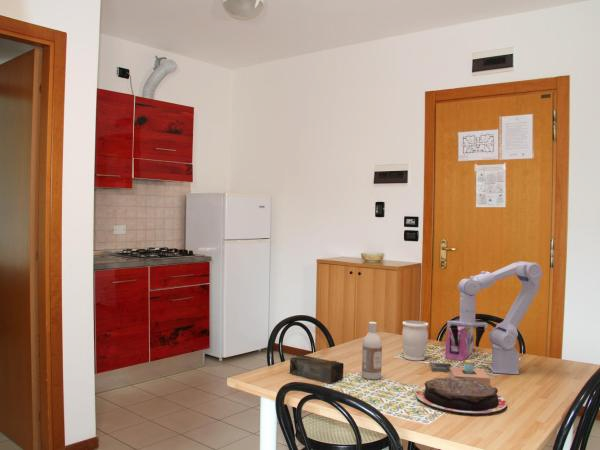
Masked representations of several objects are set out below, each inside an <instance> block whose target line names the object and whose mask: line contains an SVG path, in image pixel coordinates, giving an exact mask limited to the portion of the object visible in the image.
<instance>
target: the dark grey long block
mask: <svg viewBox="0 0 600 450" xmlns="http://www.w3.org/2000/svg"><path fill="white" fill-rule="evenodd" d="M289 374H290V375H294V376H297V377H302V378H305V379H310V380H315V381H319V382H323V383H327V384H334V383H337V382H339V380H340V381H343V380H344V362H340V361H337V360H329V359H324V358H320V357H319V358H317V357H314V356H308V355H304V354H301V355H294V356H293V357H291V358H289ZM342 379H343V380H342Z"/></svg>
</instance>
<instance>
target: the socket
mask: <svg viewBox="0 0 600 450" xmlns="http://www.w3.org/2000/svg"><path fill="white" fill-rule="evenodd" d="M448 374H449V377H450V378H458V377H462V378H466V379H471V380H474V381H477V382H480V383H482V384H485V385H488V386H491V377H490V376H489V375H488V374H487V372H486V371H485V370H484V369H483V368H476V367H475V368H474V367H473V374H465V367H460V366H459V367H457V366H454V367H453V366H452V367H449V372H448Z"/></svg>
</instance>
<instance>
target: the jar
mask: <svg viewBox="0 0 600 450" xmlns="http://www.w3.org/2000/svg"><path fill="white" fill-rule="evenodd" d="M402 325H403V327H402V333H401V340H402V341H401V342H402V348H403V351H404V355H403V356H404V359H406V360H407V361H408V360H409V361H417V362H418V361H424V360H425V359H426V357H425V353H426V351H427V347H428V342H429V332H428V327H429V322H426V321H422V320H420V321H419V320H404V321H402Z"/></svg>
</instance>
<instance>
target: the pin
mask: <svg viewBox="0 0 600 450" xmlns="http://www.w3.org/2000/svg"><path fill="white" fill-rule="evenodd" d="M474 363H475V361H474V360H472V359H465V360H464V368H465V374H473V368H474Z"/></svg>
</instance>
